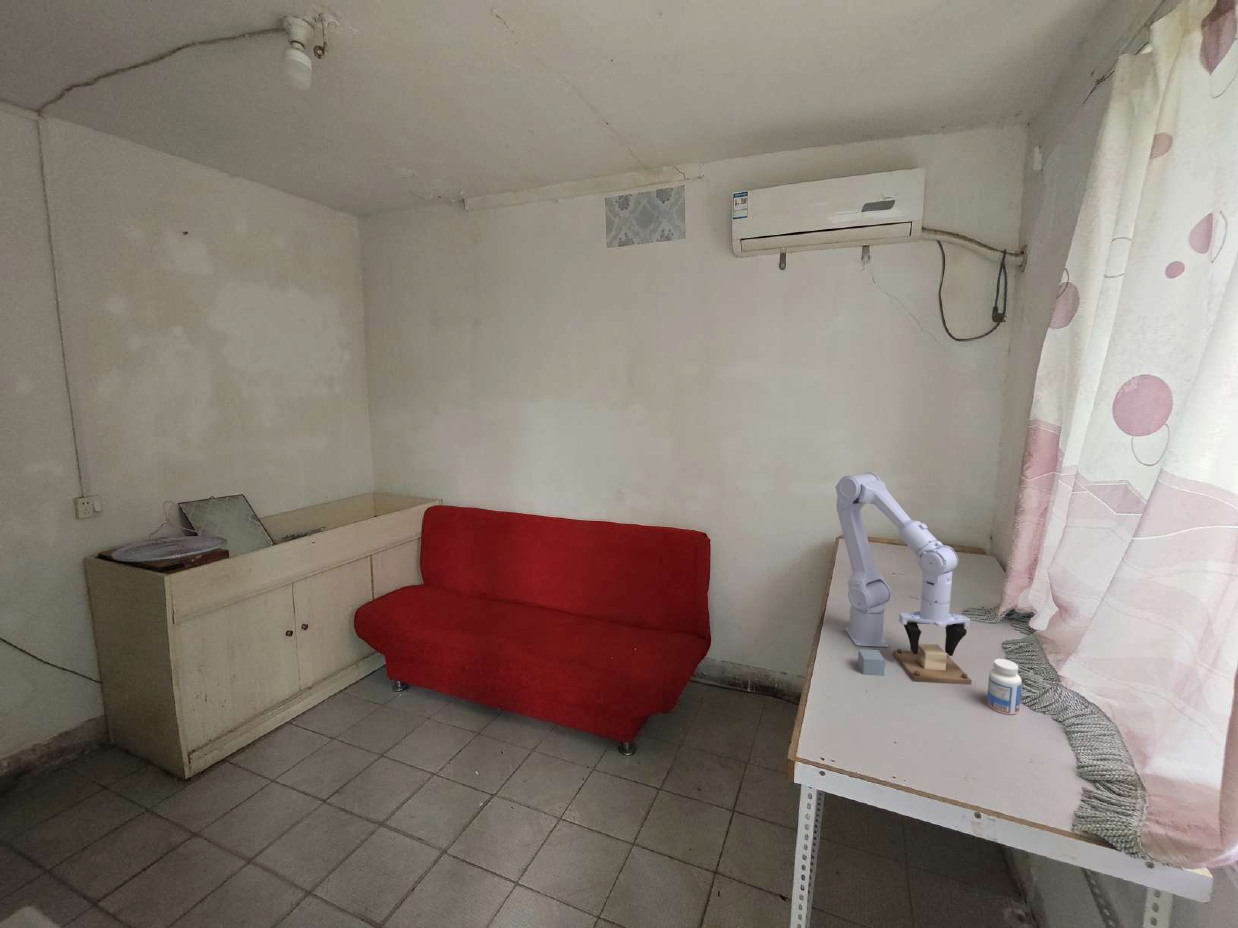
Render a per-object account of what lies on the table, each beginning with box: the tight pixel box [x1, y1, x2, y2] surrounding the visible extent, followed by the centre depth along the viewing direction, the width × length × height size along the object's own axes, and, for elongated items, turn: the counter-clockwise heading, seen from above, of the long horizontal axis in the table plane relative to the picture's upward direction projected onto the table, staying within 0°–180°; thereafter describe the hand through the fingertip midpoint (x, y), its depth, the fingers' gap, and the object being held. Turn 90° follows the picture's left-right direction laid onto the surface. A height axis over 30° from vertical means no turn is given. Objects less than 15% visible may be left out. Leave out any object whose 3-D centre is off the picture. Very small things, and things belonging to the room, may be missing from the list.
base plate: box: [892, 648, 973, 685], centre depth 121 cm, size 12×12×2 cm
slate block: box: [857, 648, 886, 677], centre depth 121 cm, size 4×4×4 cm
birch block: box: [916, 643, 948, 670], centre depth 121 cm, size 4×4×4 cm
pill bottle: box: [986, 658, 1023, 715], centre depth 106 cm, size 6×5×10 cm
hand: (931, 652), depth 121 cm, fingers open, 7 cm apart
